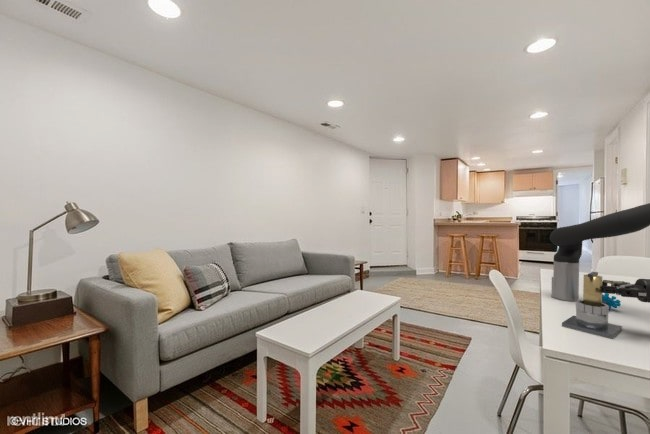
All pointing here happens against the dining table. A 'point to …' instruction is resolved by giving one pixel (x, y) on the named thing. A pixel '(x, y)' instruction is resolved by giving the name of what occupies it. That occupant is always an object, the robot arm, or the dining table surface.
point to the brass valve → (592, 289)
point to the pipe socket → (592, 320)
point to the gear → (610, 301)
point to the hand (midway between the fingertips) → (594, 286)
